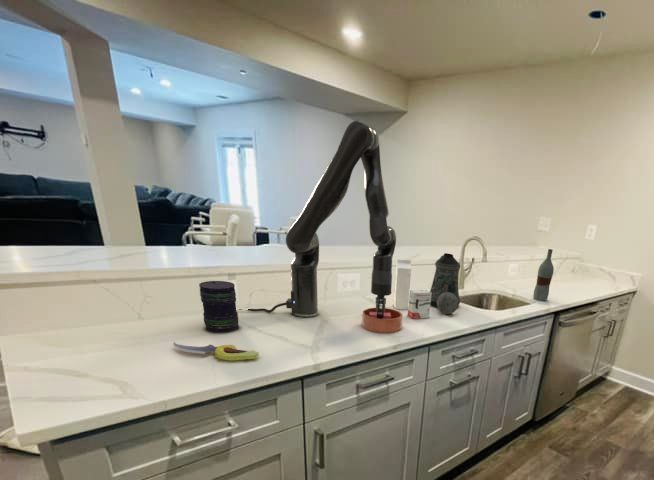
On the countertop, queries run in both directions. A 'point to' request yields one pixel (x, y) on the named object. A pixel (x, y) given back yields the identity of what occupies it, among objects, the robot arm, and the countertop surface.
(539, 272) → the bottle
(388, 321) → the bowl
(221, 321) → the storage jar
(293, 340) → the countertop surface
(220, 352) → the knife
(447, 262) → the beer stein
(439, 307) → the decorative ball
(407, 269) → the milk
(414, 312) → the ink box
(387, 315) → the eraser
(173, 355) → the countertop surface
